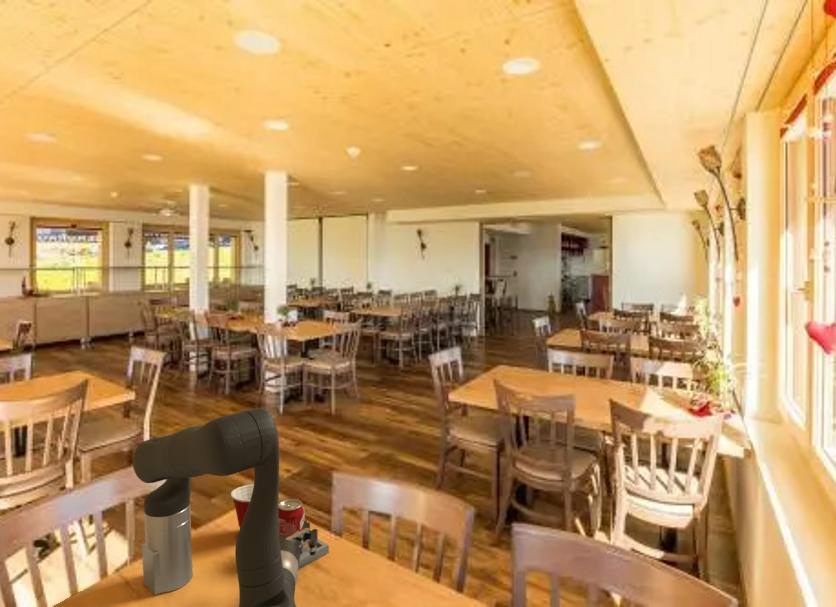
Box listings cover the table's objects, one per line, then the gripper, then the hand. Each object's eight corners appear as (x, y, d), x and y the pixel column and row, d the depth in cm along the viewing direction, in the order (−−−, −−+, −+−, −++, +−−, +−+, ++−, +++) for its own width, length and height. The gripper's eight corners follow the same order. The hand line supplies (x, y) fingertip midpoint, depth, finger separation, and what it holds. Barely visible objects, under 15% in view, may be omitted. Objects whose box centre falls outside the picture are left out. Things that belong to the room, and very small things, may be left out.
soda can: (297, 560, 122) (297, 512, 121) (271, 556, 124) (270, 509, 123) (309, 544, 129) (308, 499, 128) (284, 541, 130) (283, 496, 129)
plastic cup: (283, 531, 137) (282, 487, 136) (251, 550, 128) (249, 504, 127) (256, 519, 143) (255, 478, 142) (222, 537, 134) (221, 493, 133)
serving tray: (284, 577, 118) (284, 569, 117) (252, 555, 126) (252, 547, 126) (328, 552, 127) (328, 545, 127) (296, 534, 136) (296, 526, 136)
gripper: (316, 548, 101) (318, 507, 117) (240, 554, 98) (252, 511, 114) (316, 584, 101) (318, 538, 117) (240, 590, 99) (253, 543, 115)
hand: (286, 525), depth 116 cm, fingers open, 8 cm apart
